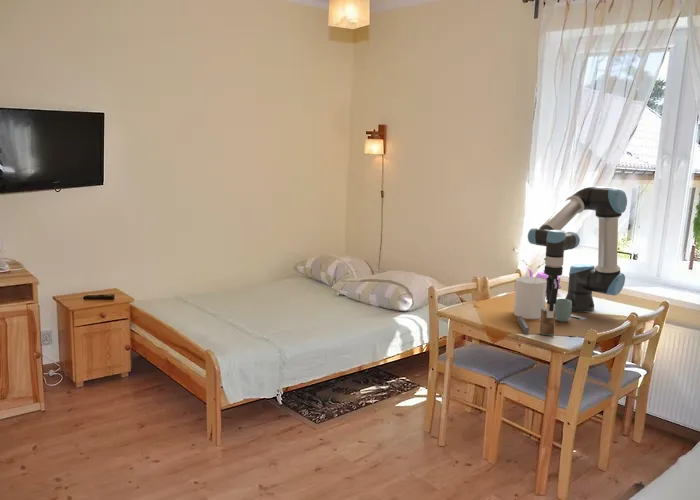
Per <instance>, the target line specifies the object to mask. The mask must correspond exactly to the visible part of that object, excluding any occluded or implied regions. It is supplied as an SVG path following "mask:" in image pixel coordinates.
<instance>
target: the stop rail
mask: <svg viewBox="0 0 700 500" xmlns="http://www.w3.org/2000/svg"><path fill="white" fill-rule="evenodd" d="M517 323H518V324H519V326H520V327H521V329H522V331H523V333H524V335H529V331H530V327H529V326H528V324H527V323H526V321H525V318H522V316H517Z"/></svg>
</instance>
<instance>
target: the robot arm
mask: <svg viewBox="0 0 700 500" xmlns="http://www.w3.org/2000/svg"><path fill="white" fill-rule="evenodd" d="M627 207H628V197H627V194H626V192H625V191H624V190H623V189H622V188H619V187H613V186H612V187H611V186H596V185H590V186H585V187H581V188H580V189H578V190H576V191H574V192H572V193H571V194H570V195H569V196H568V197H567V198H566V199H565V203H564V204H563V205H561V207H560V208H559V209H557V210H556V211H555V212H554V213H553V214H552V215H551V216H550V217H549V218H548V219H547V220H546V221H545V222H544V223H543V224H542V225H541V226H540V227H539V228H537V227H533V228H530V230H529V231H528V234H527V241H528V242H529V244H531V245H535V246H542V247H545V257H544V258H543V260H544V264H545V265H544V269H543V270H544V271H543V272H544V273H545V274H546V275H548V278H546V281H547V291H546V297H545V301H547V302H546V309H547V315H546V317H547V318H553V316H554V305H555V304H556V300H557V299H558V292H559V289H558V288H559V285H560V283H559V284H558V280H559V279H558V277H557V276H559V277H561V276H562V275H563V269H564V267H563V265H564V257H565V251H568V250H573V249H575V248H578V246H579V245H580V241H581V239H580V236H579V234H577V233H576V232H574V231H568V232H565V231H564V230H563V228H564V227H566V225H567V224H568V223H569V222H571V220H572V219H573V218H574V217H575V216H576V215H577V214H581V213H583V211H587V210H589V211H590V210H591V211H594V212H595V217H596V218H597V219H598V245H597V246H598V254H597V255H598V256H597V257H598V260H597V261H598V264H597V265H596V266H595V265H594V264H591V263H579V264H573V265H571V266H570V268H569V273H568V276H569V277H568V287H567V294H566V296H565V298H564V299H568V300H571V301H572V310H571V312H578V313H591V312H593V311H595V304H594V298H593V293H598V294H602V295H606V296H618V295H619V294H620V293H621V292H622V290H623V288H624V285H625V281H626V275H625V274H624V273H623V272H621V267H620V266H619V265H618V239H619V236H618V235H619V218H621V217H622V214H623V213H624V212H626V209H627Z"/></svg>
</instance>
